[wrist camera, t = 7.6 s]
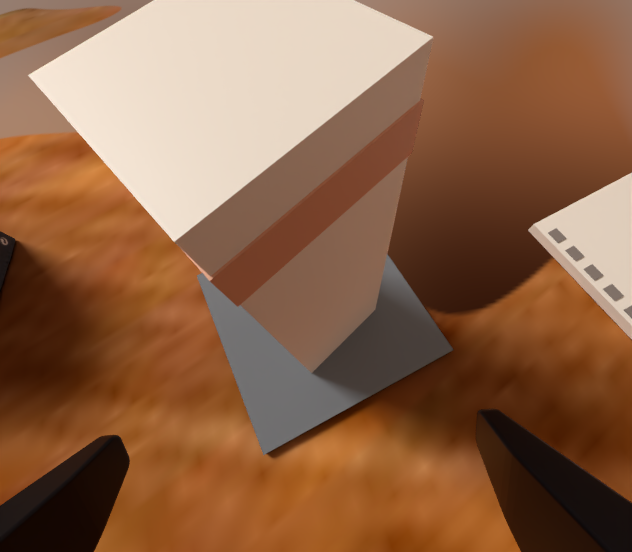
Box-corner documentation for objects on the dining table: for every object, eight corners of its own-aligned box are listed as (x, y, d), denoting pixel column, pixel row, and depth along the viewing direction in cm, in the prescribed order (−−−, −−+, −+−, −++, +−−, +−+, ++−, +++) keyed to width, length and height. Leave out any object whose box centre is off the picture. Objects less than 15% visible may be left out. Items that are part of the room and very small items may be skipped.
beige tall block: (376, 309, 16) (438, 37, 4) (311, 374, 15) (172, 247, 4) (315, 254, 18) (241, -54, 6) (253, 310, 17) (24, 75, 5)
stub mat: (451, 351, 16) (453, 349, 15) (265, 453, 15) (263, 454, 14) (350, 204, 20) (350, 200, 19) (200, 278, 19) (196, 275, 18)
